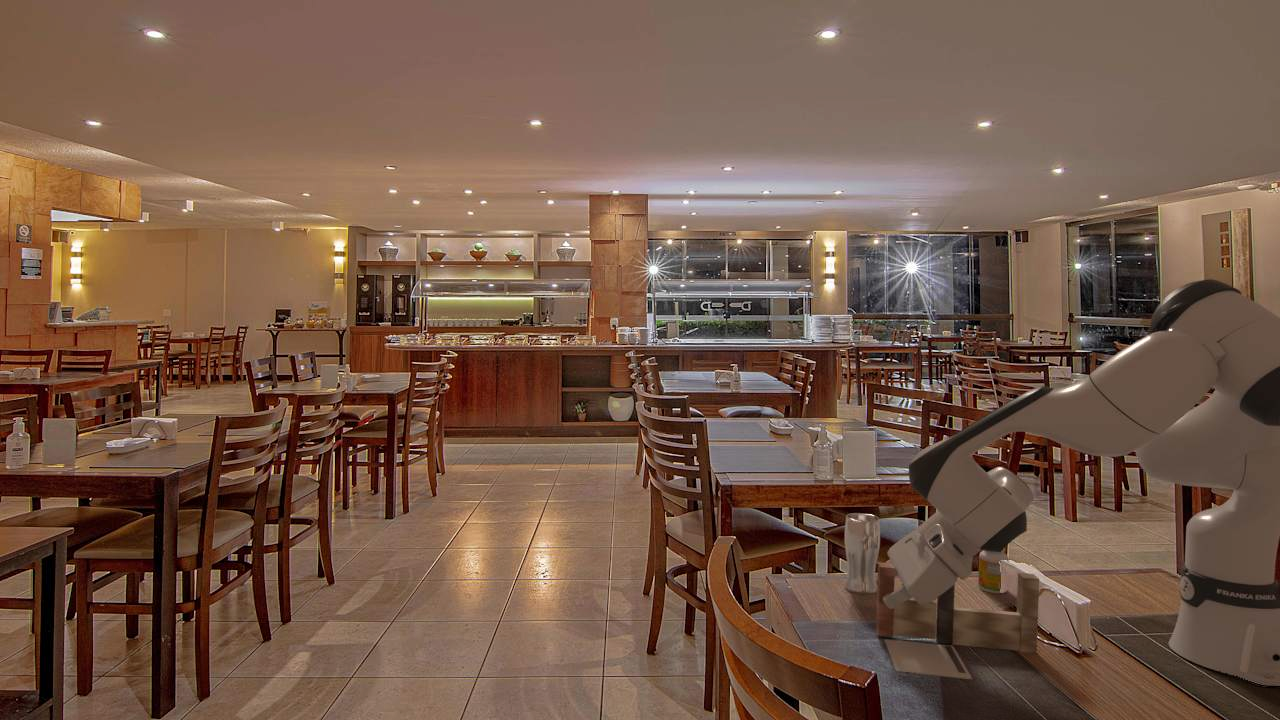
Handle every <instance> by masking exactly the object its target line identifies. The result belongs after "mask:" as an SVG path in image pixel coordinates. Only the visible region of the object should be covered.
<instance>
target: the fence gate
mask: <svg viewBox="0 0 1280 720" xmlns="http://www.w3.org/2000/svg"><path fill="white" fill-rule="evenodd" d="M877 577H878V581H877V584H876V619H875V621H876V622H875V623H876V626H875V627H876V628H875V629H876V633H877V636H879V637H889V638H891V637H892V638H894V637H895V636H897V637H905V638H906V637H908V638H917V639H918V638H919V639H928V640H936V631H937V602H935V601H932V602H930V603H928V604H925V605H920V604H919V603H918V602H917V601H916V600H915V599H914V600H913V599H909V600H907V601H905V602H902V603H899V604H897V605H896V606H895V607H894V608H892V609H890V608H888V607H887V606H886V605H885V604H884V601H883V597H884V596H886V595H887V594H888V593H889V592H890V593H892V592H894V591H895V582H896V581H895V577H896V576H895V568H894V566H893V564H892V563H890V562H879V561H878V562H877Z"/></svg>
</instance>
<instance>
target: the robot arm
mask: <svg viewBox="0 0 1280 720" xmlns="http://www.w3.org/2000/svg"><path fill="white" fill-rule="evenodd" d="M1149 323H1150V324H1149V330H1148V333H1147V334H1146V335H1145V336H1144V337H1143V338H1140V339H1138V340H1136V341H1135V342H1133V343H1132V344H1131V345H1129V346H1126V347H1125V348H1123V349H1122V350H1120V351H1119V352H1117V353H1116V354H1114V355H1113V356H1112V357H1110V358H1109V359H1107V360H1106V361H1105V362H1103V363H1102V364H1100V366H1098V367H1097V368H1095V370H1093V371H1092V372H1090V374H1088V375H1086V376H1085V377H1084V378H1083V379H1081V380H1080V381H1078V382H1076V383H1073V384H1071V385H1066V386H1063V387H1059V388H1053V387H1050V386H1045V385H1042V386H1038V387H1034V388H1032V389H1029V390H1028V391H1026V392H1023V393H1022V394H1020V395H1018V396H1017V397H1015V398H1013V399H1012V400H1010V401H1008V402H1005V403H1004V404H1002V405H1000V406H999V407H997V408H996V409H994V410H992V411H990V412H988V413H987V414H986V415H984V416H982V417H980V418H978V420H976V421H975V420H974V422H972V423H971V424H969V425H967V426H966V427H964V428H962V429H961V430H959V431H958V432H957V433H955V434H953V435H951V436H950V437H947V438H945V439H942V440H939V441H938V442H935V443H932V444H930V445H928V446H927V447H925V448H923V449H922V450H921V451H919V452H918V453H917V454H916V455H915V456H914V458H913V459H912V460H911V462H910V464H908V479H909V484H910V487H911V488H912V489H913V490H914V491H915V492H916V493H917V494H919V495H920V496H921V497H922V498H923V499H924V500H925V501H928V502H929V503H930V504H931V505H932V506H933V507H934V508H935V509H936V510H937V511H936V512H935V513H933V514H932V515H931V516H930V517H928V519H926V520H925V521H924V522H923V523H921V524H920V525H919V526H918V527H916V529H915V530H912V531H911V532H909V533H908V534H906V535H904V536H903V537H902V538H901V539H899V540H898V541H896V543H894V544H893V545H892V546H891V547H890V548H889V550H887V553H886V554H887V556H888V558H889V560H890V562H889V563H892V564H893V566H894V568H895V577H899V579H900V581H901V584H900V585H899V586H898V588H897V589H896V590H894V592H892V593H890V592H889V593H888V594H887V595H886V596H884V597H883V601H884V604H885V605H886V606H887V607H888V608H890V609H892V608H894V607H895V606H896V605H897V604H899V603H902V602H905V601H907V600H912V598H913V599H914V600H916V601H917V602H918V603H919V604H920V605H925V604H928V603H930V602H934V601H935V600H936V599H937V598H938V597H939V596H940V595H942V594H943V593H944V592H946V591H947V590H948V589H949V588H951V587H952V586H953V585H954V584H956V583H957V581H958V578H959V579H960V580H962V581H963V580H965V579H967V578H968V577H969V576H970V575H971V574H972V573H973V567H972V566H973V564H972V563H973V557H974V556H976V555H978V553H980V551H984V550H985V551H991V552H1001V551H1002V550H1003V549H1004V548H1005V549H1006V547H1008V545H1009V544H1010V543H1011V542H1013V541H1014V540H1015V539H1016V538H1017V537H1020V536H1021V535H1022V534H1024V533H1025V532H1027V530H1028V529H1027V528H1028V522H1027V521H1028V520H1027V513H1026V510H1027V509H1028V508H1029V507H1030V506H1031V505H1032V504H1033V502H1034V499H1035V498H1034V497H1035V496H1034V495H1033V492H1032V490H1031V488H1030V487H1029V486H1028V484H1027V483H1026V482H1025V481H1024V480H1023V479H1021V478H1020V477H1019V476H1018V475H1017V474H1016V473H1015V472H1012V471H1011V470H1009V469H1008V468H1005V467H1003V466H996V467H995V468H993V469H990V470H989V471H987V472H986V470H984V468H982V467H981V465H979V464H978V463H977V461H975V459H974V456H973V455H974V454H975V453H977V452H979V451H981V450H982V449H984V448H986V447H987V446H989V445H991V444H993V443H995V442H996V441H998V440H1000V439H1001V438H1004V437H1005V436H1007V435H1009V434H1011V433H1012V434H1013V433H1016V432H1023V433H1030V434H1034V435H1037V436H1040V437H1043V438H1045V439H1049V440H1051V441H1053V442H1055V443H1058V444H1060V445H1063V446H1065V447H1066V448H1069V449H1071V450H1074V451H1077V452H1079V453H1082V454H1087V455H1091V456H1096V457H1104V458H1107V457H1109V458H1114V457H1122V456H1127V455H1129V454H1131V453H1132V452H1135V456H1136V460H1137V462H1138V464H1139V467H1140V468H1141V469H1142V470H1143V471H1144V473H1146V474H1147V475H1148V476H1149V477H1150V478H1153V479H1156V480H1159V481H1160V480H1161V481H1165V482H1168V483H1172V484H1176V485H1180V486H1185V487H1186V486H1187V487H1197V488H1198V487H1199V488H1208V489H1209V488H1211V489H1222V490H1232V491H1233V492H1232V493H1231V494H1232V495H1231V496H1230V497H1229V499H1228V500H1226V501H1225V502H1224V503H1223V504H1221V505H1218V506H1215V507H1211V508H1208V509H1204V510H1202V511H1199V512H1198V513H1196V514H1194V515H1193V516H1192V517H1191V518H1190V519H1189V521H1188V522H1187V524H1186V527H1185V528H1186V530H1185V548H1184V549H1185V551H1184V552H1185V553H1184V563H1182V564H1181V570H1180V580H1179V581H1180V583H1179V593H1180V595H1179V596H1180V598H1181V601H1180V606H1179V612H1178V616H1177V619H1176V623H1175V627H1174V630H1173V632H1172V635H1171V637H1170V638H1169V641H1168V646H1169V647H1170V649H1171V650H1173V652H1174V653H1176V654H1177V655H1179V656H1181V657H1182V658H1184V659H1186V660H1188V661H1190V662H1191V663H1194V664H1197V665H1199V666H1201V667H1204V668H1208V669H1210V670H1214V671H1216V672H1219V671H1220V673H1223V674H1226V673H1227V675H1229V676H1233V675H1234V677H1236V676H1238V677H1237V678H1239V677H1240V678H1239V679H1241V678H1243V679H1242V680H1244V679H1245V680H1244V681H1246V680H1248V681H1247V682H1249V681H1251V682H1254V683H1257V684H1261V685H1276V686H1280V582H1279V581H1278V580H1277V579H1275V574H1276V573H1275V572H1276V563H1277V562H1276V561H1277V553H1278V547H1279V541H1280V317H1279V316H1278V315H1276V314H1275V313H1273V312H1272V311H1270V310H1269V309H1268V308H1265V307H1264V306H1263V305H1261V304H1259V303H1257V302H1255V301H1254V300H1252V299H1250V298H1249V297H1247V296H1245V295H1243V294H1242V292H1241V291H1240V290H1239V289H1237V288H1235V287H1234V286H1232V285H1230V284H1227V283H1225V282H1222V281H1220V280H1217V279H1212V278H1211V279H1210V278H1208V279H1202V280H1197V281H1192V282H1189V283H1186V284H1184V285H1182V286H1179V287H1177V288H1176V289H1174V290H1173V291H1172V292H1170V293H1169V294H1168V295H1166V296H1165V298H1164V299H1162V300H1161V301H1160V303H1159V304H1158V305H1157V307H1156V309H1155V311H1154V312H1153V314H1152V317H1151V319H1150V322H1149ZM1212 388H1213V389H1214V391H1213V392H1212V394H1211V395H1210V396H1209V397H1208V398H1207V399H1206V400H1204V401H1203V402H1202V403H1200V404H1199V405H1197V404H1198V403H1199V402H1200V401H1201V399H1203V398H1204V397H1205V395H1207V393H1208V392H1209V391H1210V390H1211V389H1212ZM1195 405H1197V406H1195ZM877 581H878V576H877V577H875V583H876V585H877ZM1251 682H1250V683H1251ZM1254 683H1253V684H1254ZM1257 684H1256V685H1257Z"/></svg>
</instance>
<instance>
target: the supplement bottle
mask: <svg viewBox="0 0 1280 720" xmlns="http://www.w3.org/2000/svg"><path fill="white" fill-rule="evenodd" d="M1005 552H1006V547H1005V548H1004V549H1003V550H1002V551H1001V552H991V551H985V550H981V552H979V556H978V581H977V582H978V583H977V584H978V588H979V589H980V590H982V591H983V592H986V593H990V594H1000V589H1001V572H1000V564H999V561H1000V560H1007V561H1008V562H1009V556H1008V555H1007V554H1006V553H1005ZM1000 563H1001V561H1000Z"/></svg>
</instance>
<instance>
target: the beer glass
mask: <svg viewBox="0 0 1280 720" xmlns="http://www.w3.org/2000/svg"><path fill="white" fill-rule="evenodd" d="M880 524H881V523H880V518H879V517H878V516H877V515H874V514H870V513H861V512H854V513H847V514H846V515H845V525H844V548H845V555H846V563H847V577H846V581H845V589H846V588H847V589H848V591H849V592H851V593H854V594H857V593H858V594H859V595H873V594H875V593H877V584H876V582H875V579H876V566H877V563H878V562H877V561H878V557H879V551H880V545H881V527H880V526H881V525H880ZM847 589H846V590H847Z"/></svg>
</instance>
